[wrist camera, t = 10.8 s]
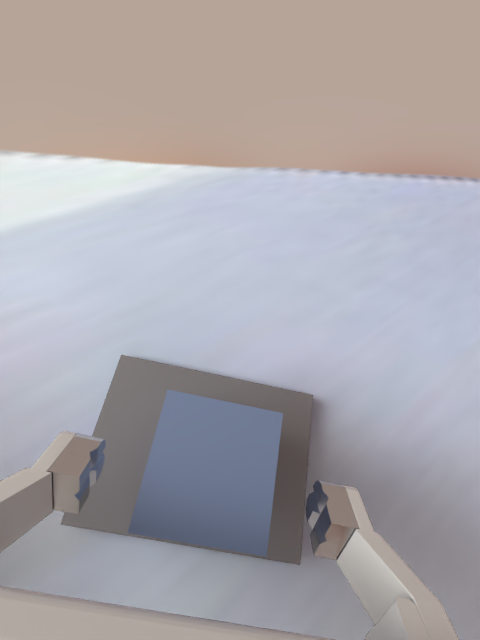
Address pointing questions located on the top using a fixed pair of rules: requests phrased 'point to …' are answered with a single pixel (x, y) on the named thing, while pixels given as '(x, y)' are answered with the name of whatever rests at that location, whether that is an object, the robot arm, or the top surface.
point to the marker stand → (138, 434)
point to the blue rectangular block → (210, 475)
